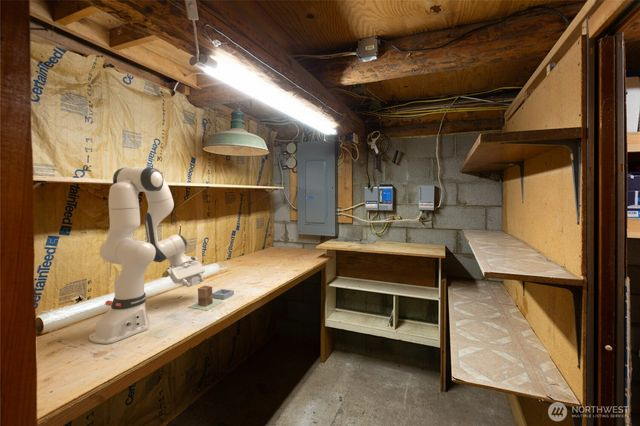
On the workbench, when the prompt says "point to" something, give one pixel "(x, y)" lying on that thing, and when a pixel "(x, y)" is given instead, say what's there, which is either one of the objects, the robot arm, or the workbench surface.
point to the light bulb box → (194, 281)
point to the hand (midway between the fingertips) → (196, 283)
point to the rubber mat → (206, 306)
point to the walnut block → (205, 296)
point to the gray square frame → (220, 295)
